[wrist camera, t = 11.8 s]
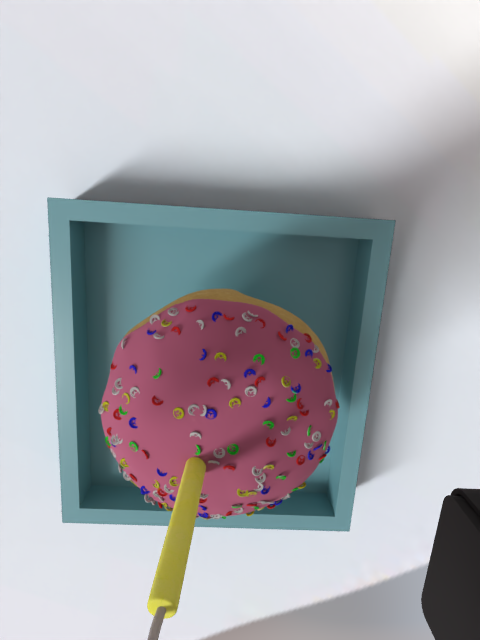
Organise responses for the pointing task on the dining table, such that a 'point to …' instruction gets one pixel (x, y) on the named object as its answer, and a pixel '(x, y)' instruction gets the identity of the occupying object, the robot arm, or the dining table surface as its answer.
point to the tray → (194, 275)
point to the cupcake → (216, 416)
